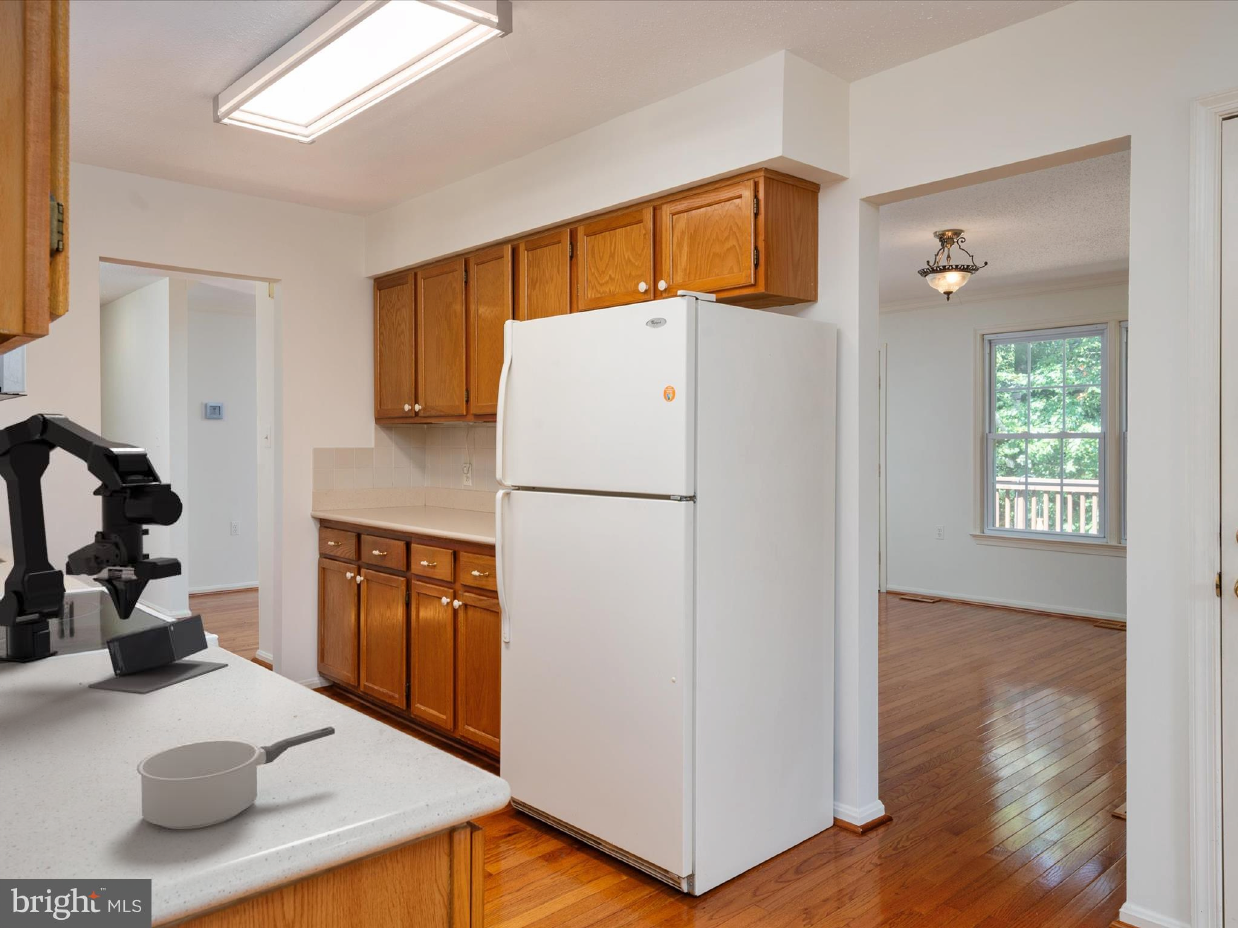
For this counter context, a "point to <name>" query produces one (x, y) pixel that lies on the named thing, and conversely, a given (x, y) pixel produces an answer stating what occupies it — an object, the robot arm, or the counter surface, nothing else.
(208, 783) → the saucepan
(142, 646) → the small box
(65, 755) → the counter surface
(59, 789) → the counter surface
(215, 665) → the mat
